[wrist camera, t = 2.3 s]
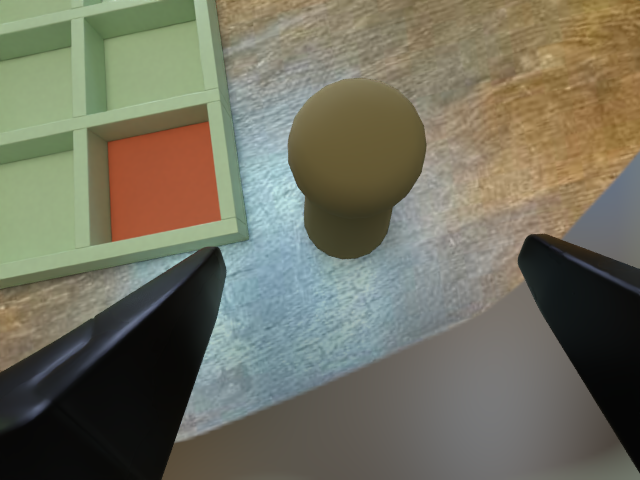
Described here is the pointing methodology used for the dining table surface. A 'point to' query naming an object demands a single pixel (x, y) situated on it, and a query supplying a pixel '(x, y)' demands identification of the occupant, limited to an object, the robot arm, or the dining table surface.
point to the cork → (354, 162)
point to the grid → (112, 136)
